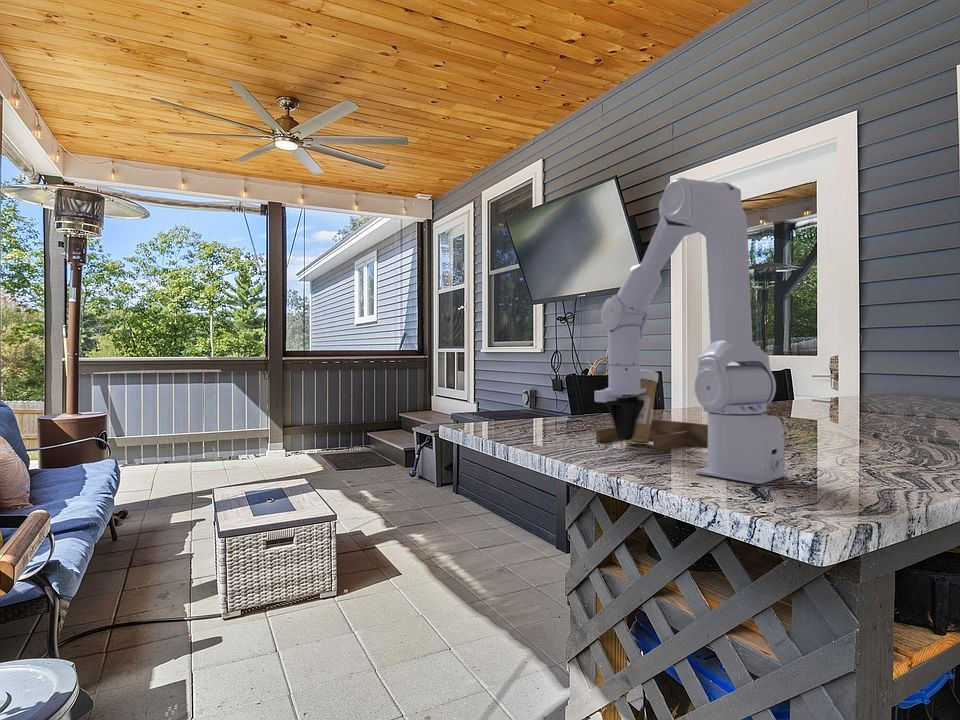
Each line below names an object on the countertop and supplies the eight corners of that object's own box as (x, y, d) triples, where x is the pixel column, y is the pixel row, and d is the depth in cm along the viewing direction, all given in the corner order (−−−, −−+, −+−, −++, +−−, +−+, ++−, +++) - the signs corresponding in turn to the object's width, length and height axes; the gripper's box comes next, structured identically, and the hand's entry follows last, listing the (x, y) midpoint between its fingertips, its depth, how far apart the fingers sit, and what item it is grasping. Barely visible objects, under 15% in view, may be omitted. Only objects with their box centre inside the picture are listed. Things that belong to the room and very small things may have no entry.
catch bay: (712, 447, 106) (712, 424, 106) (678, 454, 99) (678, 430, 99) (614, 434, 123) (614, 415, 123) (579, 439, 116) (579, 419, 116)
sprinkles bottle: (653, 445, 109) (663, 374, 111) (639, 441, 106) (650, 368, 108) (632, 442, 112) (642, 373, 114) (618, 438, 109) (629, 368, 111)
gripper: (630, 363, 115) (631, 432, 115) (581, 365, 106) (581, 440, 106) (661, 364, 109) (662, 436, 109) (612, 366, 100) (613, 445, 100)
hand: (624, 439), depth 107 cm, fingers closed
